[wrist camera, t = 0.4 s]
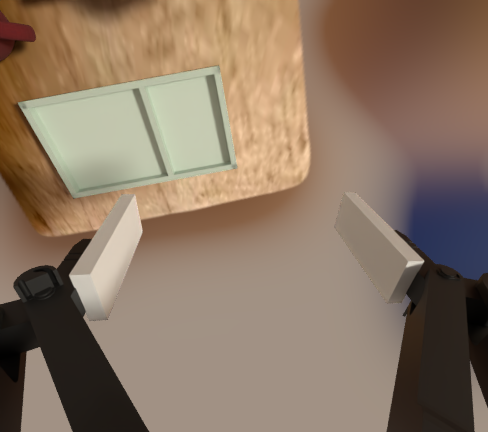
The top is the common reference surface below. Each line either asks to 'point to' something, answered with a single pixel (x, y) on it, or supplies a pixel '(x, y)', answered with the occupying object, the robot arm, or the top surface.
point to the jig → (136, 131)
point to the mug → (13, 35)
